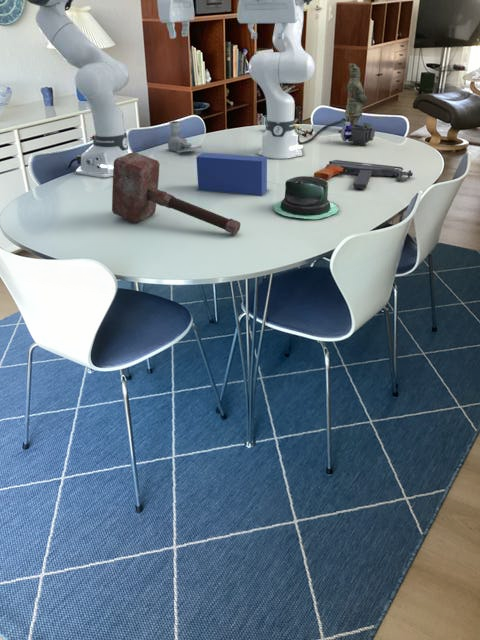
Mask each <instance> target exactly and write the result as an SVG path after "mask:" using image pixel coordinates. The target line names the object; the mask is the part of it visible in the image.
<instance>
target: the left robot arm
mask: <svg viewBox="0 0 480 640" xmlns="http://www.w3.org/2000/svg"><path fill="white" fill-rule="evenodd" d="M26 1H27V2H29V4H31V5H33V6H38V7H39V8H38V10H37V12H36V14H35V18H34V19H35V24H36V26H37V27H38V29H39V30H40V32H41V33H42V35H43V36H44V38H45V39H46V41H48V42H49V44H50V45H51V46H52V47H53V48H54V49H55V50H56V52H57V53H58V54H59V55H60V56H61V57H62V58H63V59H64V61H66V62H67V63H68V64H69V65H71V66H73V67H75V68H77V71H76V73H75V75H74V84H75V87H76V89H77V91H78V92H79V94H80V95H82V96H83V97H84V99H85V100H86V101H87V104H88V106H89V110H90V112H91V115H92V121H93V126H94V133H95V134H93V135H92V136H90V137H89V141H92V145H91V146H90V147H88V148H87V149H86V150H85V151H84V152H82V153H80V154H78V155H76V157H75V158H73V159H71V160H70V161H69V164H68V165H67V168H68V169H70V168H71V167H72V164H73V163H74V162H77V165H80V166H79V167H77V168H76V169H75V174H79V175H85V176H90V177H97V178H111V177H113V169H114V161H115V160H116V159H117V158H119V157H122V156H125V155H127V154H130V153H131V150H130V149H129V142H128V135H127V132H126V126H125V119H124V118H125V117H124V112H123V110H122V109H121V107H119V105H118V104H117V101H116V99H115V96H114V93H118V92H119V91H121V90H123V89H124V87H126V86H127V85H128V83H129V81H130V73H129V70H128V67H127V66H126V65H125V64H124V63H123V62H122V61H119V60H117V59H116V58H114V57H112V56H110V55H109V54H108V53H107V52H105V51H104V50H103V49H102V48H100V47H99V46H97V45H96V44H95V43H94V42H92V41H91V40H90V38H88V36H87V35H86V34H85V33H84V32H83V31H82V30H81V29H80V28H79V26H77V24H75V23H74V21H73V20H72V19H71V18H70V17H69V15H68V14H67V13H66V12H67V11H69V10H70V9H71V6H72V3H73V2H74V0H26ZM156 1H157V11H158V12H157V13H158V19H159V21H160V23H161V24H166V29H167V30H168V34H169V39H171V40H173V39H176V38H177V37H178V36H177V31H176V29H175V26H176V25H175V23H180V22H181V25H182V28H181V37H182V38H183V37H189V29H190V21H194V20H195V15H196V14H195V7H194V6H195V5H194V0H156Z"/></svg>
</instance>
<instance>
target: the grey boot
mask: <svg viewBox="0 0 480 640" xmlns="http://www.w3.org/2000/svg"><path fill="white" fill-rule="evenodd" d="M180 128H181V126H180V121H178V120H173V121H172V120H171V121H169V129H170V137H167V146H168V148H167V149H168V151H171V152H174V153H175V152H176V154H181V153H187V152H190V151H194V150H197V149H201V148H203V147H202V145H199V146H194V147H193V146H192V143H190V142H188V139H186V138H182V137H180V136H181V135H180Z"/></svg>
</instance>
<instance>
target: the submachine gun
mask: <svg viewBox="0 0 480 640" xmlns="http://www.w3.org/2000/svg"><path fill="white" fill-rule="evenodd" d="M403 170H404V167H402V166H397V165H396V166H394V165H385V164H376V163H369V162H368V163H367V162H361V161H360V162H359V161H349V160H343V159H342V160H341V159H333V160H329V161H328V163H327V164H326V166H325V168H323V169H320V170H318V171H315V172H314V173H313V177H317V178H322V179H323V180H325V181H327V180H330V178H332V177H333V176H336V175H341V174H342V175H349V176H350V175H351V176H352V175H357V176H356V178H355V179H354V180H355V181H354V182H353V189H361V190H366V189H367V186H368V184H369V182H370V180H371V177H372V176H375V177H381V176H382V177H383V176H385V177H397V178H396V180H397V181H399V182H406V181H408V180H409V179H410V178H411V177H413V175H414V173H413V172H412V170H411V169H409V170H408V171H403ZM402 176H406V178H402Z"/></svg>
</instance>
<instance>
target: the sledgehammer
mask: <svg viewBox="0 0 480 640" xmlns="http://www.w3.org/2000/svg"><path fill="white" fill-rule="evenodd" d="M160 165H161V164H160V162H159V161H158V160H157V159H154V158H151V157H149V156H146V155H144V154H142V153H138V152H136V151H133V152H129V154H127V155H125V156H122V157H119V158H117V159H116V160H115V161H114V169H113V176H112V192H111V193H112V195H111V212H112V213H113V214H114V215H116V216H117V217H121V218H122V219H125V220H128V221H129V222H132V223H134V224H139V223H140V222H143V221H144V220H146V219H148V218H150V217H152V216H153V215H155V213H156V210H157V205H158V206H161V207H165V208H168V209H173V210H174V211H177V212H180V213H182V214H185V215H187V216H190V217H193V218H195V219H197V220H200V221H202V222H204V223H206V224H210V225H211V226H215V227H217V228H220V229H222V230H225V232H227V233H230V234H231V235H234V236H235V235H237V234H238V233H239V231H240V228H241V221H239V220H236V219H233V218H228V217H225V216H223V215H220V214H218V213H215V212H212V211H210V210H207V209H206V208H203V207H200V206H197V205H195V204H192V203H190V202H187V201H185V200H183V199H180V198H177V197H175V196H174V195H172V194H170V193H168V192H166V191H165V190H161V189H159V180H160V179H159V178H160Z"/></svg>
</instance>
